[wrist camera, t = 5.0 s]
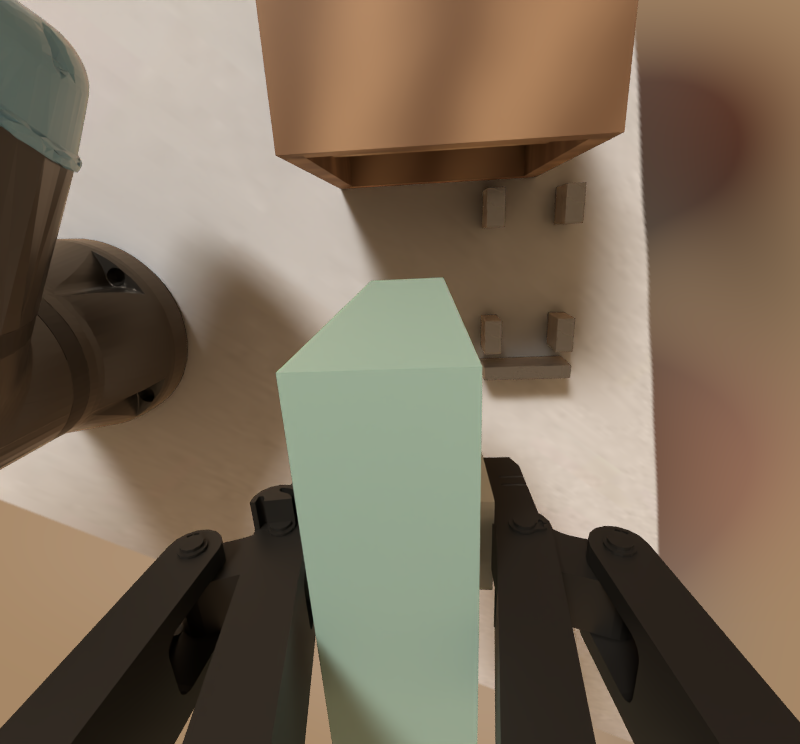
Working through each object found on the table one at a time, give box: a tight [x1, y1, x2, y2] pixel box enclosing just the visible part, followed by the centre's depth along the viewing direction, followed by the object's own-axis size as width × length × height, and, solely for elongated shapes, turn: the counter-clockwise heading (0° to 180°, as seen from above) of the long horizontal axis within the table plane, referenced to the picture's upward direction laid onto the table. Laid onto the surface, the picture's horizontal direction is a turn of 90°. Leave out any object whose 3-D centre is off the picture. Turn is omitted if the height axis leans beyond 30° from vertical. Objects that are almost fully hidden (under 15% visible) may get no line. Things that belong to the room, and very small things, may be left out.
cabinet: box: [256, 0, 638, 189], centre depth 22 cm, size 14×10×14 cm
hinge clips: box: [481, 182, 586, 380], centre depth 31 cm, size 6×14×2 cm, turn 3°
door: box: [276, 277, 482, 744], centre depth 14 cm, size 3×12×12 cm, turn 3°
